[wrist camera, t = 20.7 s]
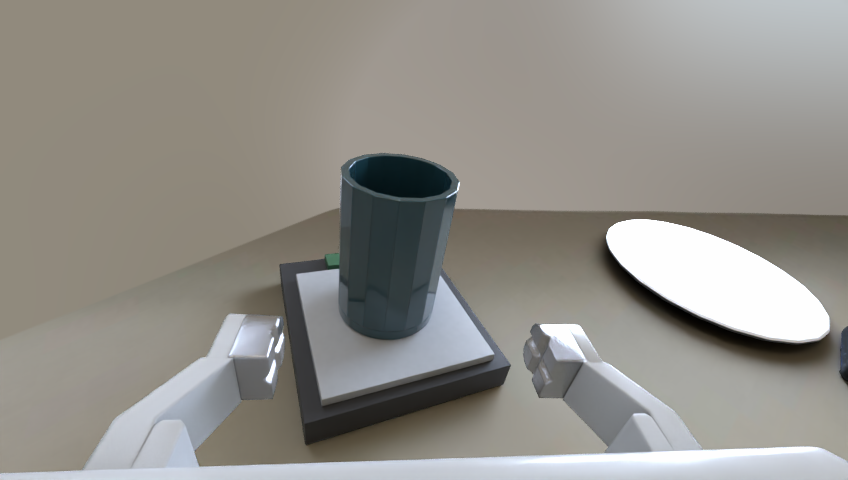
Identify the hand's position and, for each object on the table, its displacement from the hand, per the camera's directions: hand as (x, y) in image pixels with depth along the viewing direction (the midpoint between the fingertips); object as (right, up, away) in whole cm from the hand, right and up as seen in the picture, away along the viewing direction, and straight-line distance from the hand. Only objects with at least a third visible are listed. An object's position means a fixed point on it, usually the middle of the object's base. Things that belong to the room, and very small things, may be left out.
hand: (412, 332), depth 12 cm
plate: (+31, -1, +29) cm, 42 cm away
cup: (-2, -2, +14) cm, 15 cm away
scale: (-3, -4, +16) cm, 16 cm away
